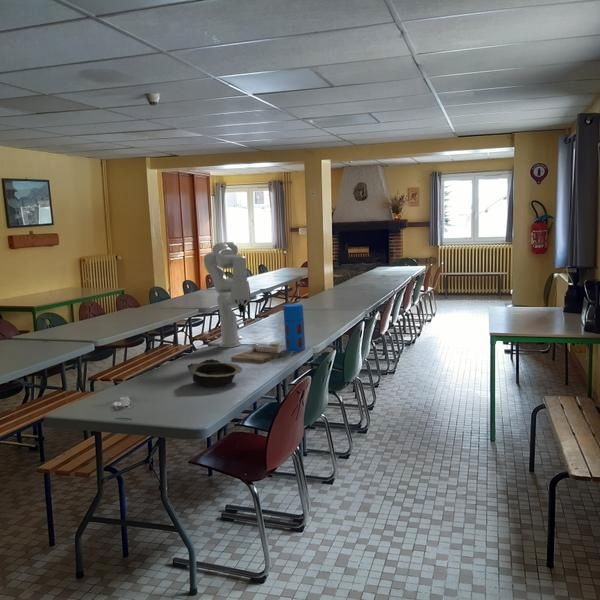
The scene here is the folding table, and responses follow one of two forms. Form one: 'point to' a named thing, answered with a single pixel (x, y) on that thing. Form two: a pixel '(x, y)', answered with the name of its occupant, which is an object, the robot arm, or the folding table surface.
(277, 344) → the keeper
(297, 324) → the thermos
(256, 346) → the lock bar
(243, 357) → the plate
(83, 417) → the folding table surface
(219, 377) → the brown round bowl
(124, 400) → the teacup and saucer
